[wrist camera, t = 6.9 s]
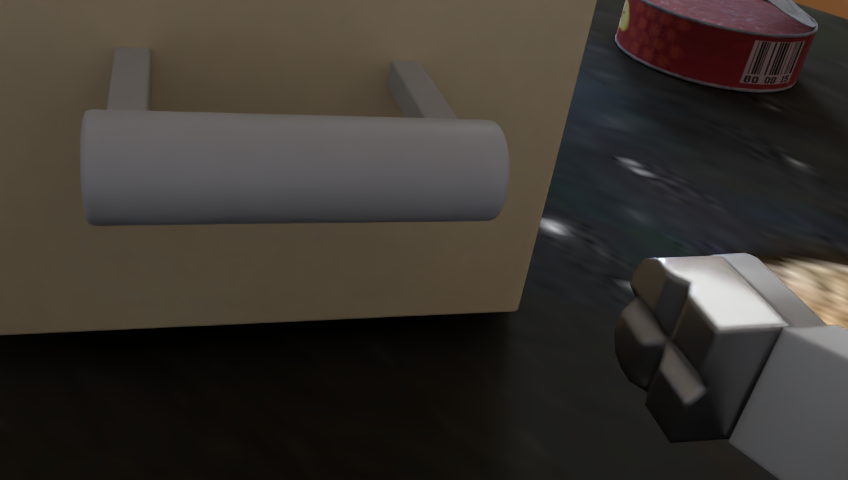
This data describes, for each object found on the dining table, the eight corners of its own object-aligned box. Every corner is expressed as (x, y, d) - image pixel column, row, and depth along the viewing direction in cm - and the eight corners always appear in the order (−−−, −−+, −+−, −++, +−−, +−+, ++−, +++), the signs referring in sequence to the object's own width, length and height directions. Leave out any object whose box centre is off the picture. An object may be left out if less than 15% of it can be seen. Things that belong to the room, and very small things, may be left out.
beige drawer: (600, 458, 16) (783, -41, 11) (-116, 535, 13) (-330, -152, 8) (390, 84, 32) (426, -198, 27) (40, 71, 28) (3, -259, 23)
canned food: (654, 98, 51) (735, -49, 50) (796, 151, 44) (895, -19, 43) (549, 22, 44) (640, -155, 42) (700, 71, 36) (817, -140, 35)
